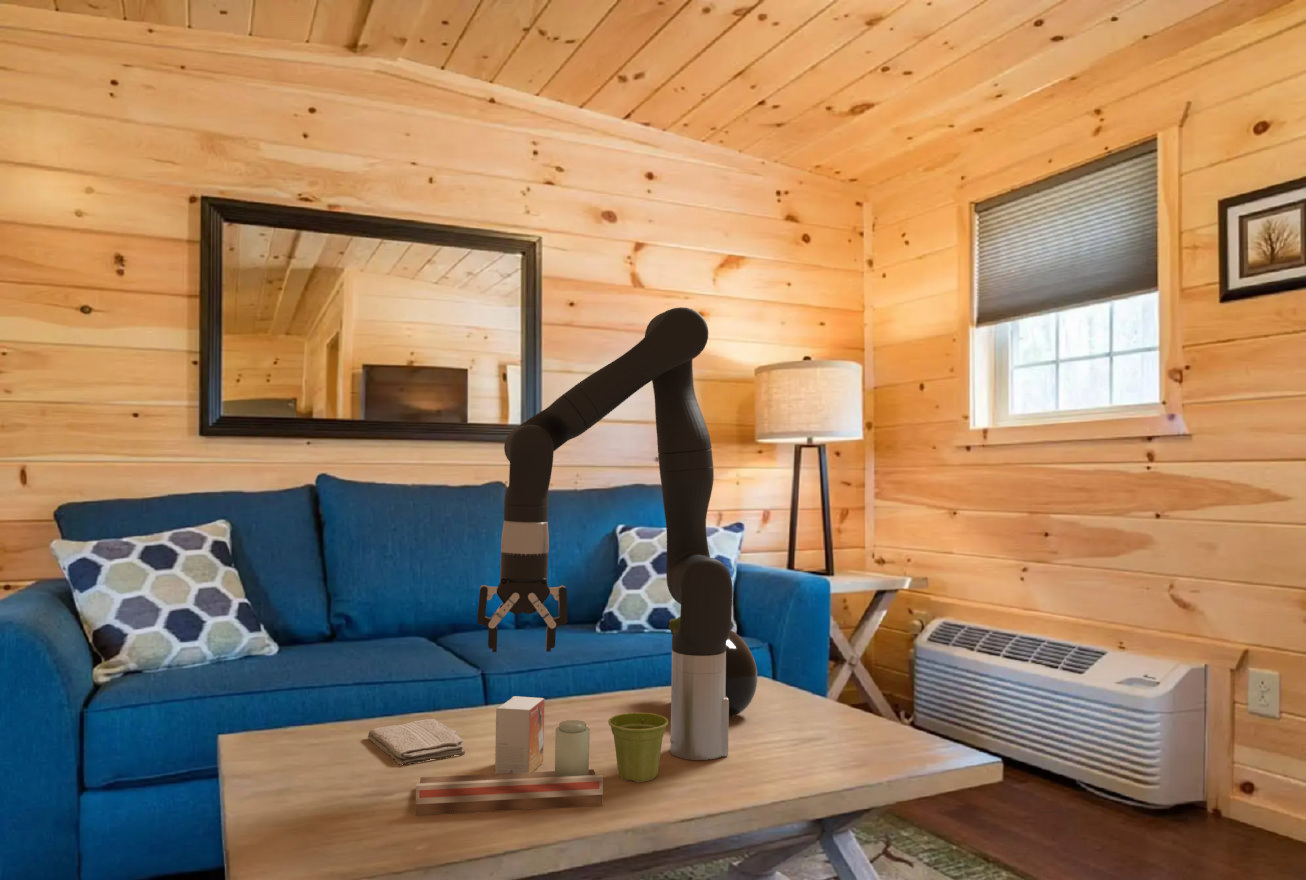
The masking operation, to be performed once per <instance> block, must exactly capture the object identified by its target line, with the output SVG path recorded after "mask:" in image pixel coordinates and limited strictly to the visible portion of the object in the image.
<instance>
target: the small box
mask: <svg viewBox="0 0 1306 880" xmlns="http://www.w3.org/2000/svg"><path fill="white" fill-rule="evenodd" d="M545 702H546V700H545V698H543V697H532V696H531V697H530V696H519V695H517V696H516V695H515V696H512V697H511V698H510V699H508V700H507V701H506V702H504V703H503V704H501V705H500V706H498V707H496V708H495V711H496V712H495V754H494V755H495V758H494V759H495V760H494V761H495V762H494V763H495V764H494V765H495V766H494V770H495V771H494V774H503V773H524V772H535V771H536V770H537V769H538V768H539V767H540V766H541V765H543V764H544V754H545V753H544V752H545V750H544V748H545V747H544V745H545Z"/></svg>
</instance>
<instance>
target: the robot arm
mask: <svg viewBox="0 0 1306 880" xmlns="http://www.w3.org/2000/svg"><path fill="white" fill-rule="evenodd" d="M708 339H709V328H708V323H707V321H706V320H705V318H704V316H702V315H701V313H699V312H698V311H697V310H694V309H693V308H689V307H682V306H681V307H680V306H678V307H673V308H671V309H667V310H665V311H664V312H661V313H659V314H657V315H655V316H654V317H653V318H652V319H651V320H650V321H649V322H648V324H647V326H646V329H645V332H644V337H643V338H642V339H641V340H640V341H638V343H637V344H635V345H634V346H633V347H631V348H630V349H629V350H628V351H626V352H625V353H623V354H621V356H619V357H617V358H616V359H615V360H613V361H611V362H610V363H608V364H606V365H605V366H603V367H601V368H600V369H598V370H596V371H594V372H592V374H589V375H588V376H587V377H585V378H584V379H583V380H581V381H579V382H578V383H577V384H575V385H574V386H572V387H571V388H569V390H567V391H566V392H564V393H563V394H562V395H561V396H559V397H558V398H556V399H555V400H554V402H552V403H551V404H550V405H549V406H548V407H546V408H545V409H543V410H542V411H541V410H540V412H539V413H536V414H535V415H533V416H532V417H530V418H529V419H527V420H525V421H524V422H523V423H520V424H519V425H518V426H517V427H515V428H514V429H512V430H511V432H510V433H508V435H507V436H506V439H505V441H504V447H503V450H504V455H505V457H506V459H507V461H508V462H509V471H508V472H509V475H508V477H509V479H508V487H507V488H506V490H505V496H504V506H503V507H504V509H503V513H504V514H503V525H502V526H503V527H502V531H501V543H500V553H501V554H500V574H499V584H498V585H497V586H490V585H489V586H487V585H486V584H482V585H481V586H479V596H478V597H479V598H478V607H477V616H476V618H477V619H476V622H477V624H478V625H482V626H485V627H486V628H487V631H488V633H487V634H488V635H487V636H488V637H487V647H488V649H491V652H492V653H497V652H498V651H497V650H498V649H497V648H498V626H497V625H498V624H500V622H501V621H502V620H503V619H504V617H506V615H507V614H508V613H511V614H512V615H514V614H515V615H519V614H522V613H523V614H527V615H533V614H534V613H538V614H539V615H540V617H541V618H542V619H543V621H544V622H545V624H546V625H547V626H546V628H545V629H546V630H545V631H546V632H545V651H546V652H547V653H551V651H552V649H554V648H555V647H556V637H557V636H556V632H557V631H556V630H557V628H558V627H559V626H562V625H567V623H568V590H567V588H566V586H564V584H560V585H559V586H553V587H550V586H549V584H548V577H549V576H548V574H549V573H548V572H549V570H548V569H549V549H550V544H549V543H550V540H549V539H550V535H549V532H550V531H549V522H548V521H549V489H550V484H551V483H550V482H551V478H552V477H551V476H552V470H553V465H554V464H553V462H554V452H555V451H557V450H558V449H559V448H560V447H562V446H563V445H564V444H565V443H566V442H569V441H570V440H572V439H575V438H577V437H579V436H581V435H582V434H584V433H585V432H587V431H588V430H590V428H592V427H593V426H594V425H596V424H597V423H598V422H600V421H601V420H602V419H604V418H605V417H606V416H608V415H609V414H610V413H611V412H613V411H614V410H615V409H616V408H618V407H619V406H620V405H621V404H623V403H624V402H625V401H626V400H627V399H629V398H630V397H631V396H632V395H634V394H635V393H636V392H638V391H640V390H641V389H642V388H643V387H644V386H646V385H648V384H649V383H650V382H652V388H653V397H654V410H655V412H654V413H655V414H654V415H655V430H656V441H657V457H658V458H657V459H658V466H659V467H658V468H659V476H660V478H659V479H660V483H661V492H662V503H663V512H664V519H665V526H666V527H665V528H666V529H665V530H666V565H665V566H666V570H665V571H666V584H667V588H668V593H669V594H670V595H671V597H672V599H673V600H674V601H675V602H676V603H678V604H680V616H679V617H680V625H679V628H678V630H677V631H675V632H674V634H673V635H671V685H670V687H671V689H670V690H671V693H670V695H671V696H670V697H671V698H670V738H669V739H670V749H669V750H670V753H671V755H674V756H675V757H677V758H681V759H684V760H692V761H708V759H710V760H715V759H718V758H721V756H722V757H728V756H729V727H730V726H729V724H730V723H729V721H730V720H729V718H730V717H729V699H728V698H727V697H726V696H725V687H726V642H727V639H728V637H729V634H730V630H732V628H731V627H732V614H733V613H732V612H733V610H732V609H733V583H732V582H733V580H732V576H731V573H730V570H729V569H728V567H727V566H726V565H725V563H723V562H722V561H721V560H718V559H716V558H713V557H711V555H710V550H709V545H708V543H709V542H708V538H707V537H708V536H707V515H708V509H709V505H710V500H711V497H712V492H713V488H714V487H713V485H714V480H715V479H714V478H715V477H714V472H715V471H714V461H713V451H712V450H713V449H712V442H711V436H710V433H709V430H708V427H707V425H706V421H705V418H704V415H703V413H702V411H701V408H700V406H699V403H698V400H697V396H696V392H695V387H694V386H695V385H694V373H693V360H694V359H696V357H698V356H699V355H701V353H702V352H703V351H704V350H705V347H706V346H707V343H708ZM495 594H496V595H497V596H498V598H499V599H500V600H501V602H502V603H501V604H500V606H498V608H497V609H496V611H495V612H494V613H493V615H492V616H491V617H489V616H486V614H487V613H486V611H487V603H488V601H491V600H492V598H493V596H494V595H495ZM550 594H551V595H552V596H553V598H554V600H555V601H558V616H555V617H553V616H552V614H551V613H550V611H548V609H547V607H546V606H545V605H544V603H545V602H546V601H547V599H548V597H549V596H550ZM727 755H728V756H727Z"/></svg>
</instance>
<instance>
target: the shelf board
mask: <svg viewBox="0 0 1306 880" xmlns="http://www.w3.org/2000/svg"><path fill="white" fill-rule="evenodd" d="M603 798H604V776H603V774H596V772H595V770H594V769H592V768H591V769H590V768H589V775H584V776H563V777H555V770H552V771H551V770H549V771H547V770H546V771H533V772H524V773H503V774H495V773H486V774H467V775H466V774H465V775H464V774H463V775H446V776H444V775H443V776H442V775H441V776H424V777H423V776H422V777H420V779H419V783H418V782H417V783H415V815H414V816H424V815H425V816H426V815H427V816H428V815H445V814H464V813H467V814H468V813H479V812H480V813H481V812H485V813H486V812H497V811H498V812H500V811H501V812H502V811H517V810H518V811H519V810H537V809H538V810H539V809H556V808H557V809H558V808H574V807H575V808H577V807H594V806H595V807H596V806H604V805H603V803H604V801H603V800H604V799H603Z"/></svg>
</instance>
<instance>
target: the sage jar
mask: <svg viewBox="0 0 1306 880" xmlns="http://www.w3.org/2000/svg"><path fill="white" fill-rule="evenodd" d="M590 731H591V730H590V727H589V726H587V722H585V721H583V720H578V719H577V720H576V719H567V720H563V721H561V722H559V723H558V726H557V727H556V728H555V738H554V739H555V740H554V741H555V742H554V746H555V747H554V749H555V750H554V771H555V777H563V776H584V775H589V769H590V733H591V732H590Z"/></svg>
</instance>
